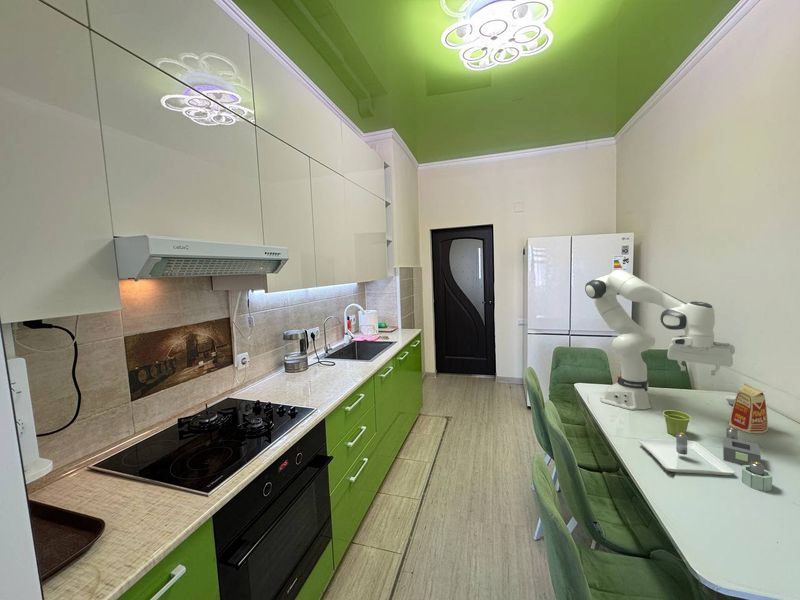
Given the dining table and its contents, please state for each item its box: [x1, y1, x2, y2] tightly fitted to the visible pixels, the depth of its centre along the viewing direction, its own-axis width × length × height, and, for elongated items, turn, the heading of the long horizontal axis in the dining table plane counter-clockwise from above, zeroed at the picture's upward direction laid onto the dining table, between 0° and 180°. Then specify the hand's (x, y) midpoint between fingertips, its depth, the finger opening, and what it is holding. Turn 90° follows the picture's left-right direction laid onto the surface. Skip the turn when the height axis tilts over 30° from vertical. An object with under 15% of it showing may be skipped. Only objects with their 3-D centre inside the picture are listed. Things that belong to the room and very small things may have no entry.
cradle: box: [722, 436, 762, 466], centre depth 120 cm, size 9×10×6 cm
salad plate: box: [637, 438, 736, 476], centre depth 123 cm, size 21×21×3 cm
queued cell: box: [725, 427, 739, 440], centre depth 129 cm, size 3×3×8 cm
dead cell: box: [750, 461, 765, 476], centre depth 107 cm, size 3×3×8 cm
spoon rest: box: [724, 395, 736, 406], centre depth 158 cm, size 24×12×7 cm, turn 140°
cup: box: [741, 465, 773, 492], centre depth 107 cm, size 7×7×5 cm
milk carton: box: [728, 382, 769, 434], centre depth 141 cm, size 9×9×20 cm
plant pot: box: [662, 409, 692, 437], centre depth 141 cm, size 9×9×9 cm
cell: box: [675, 432, 688, 456], centre depth 123 cm, size 3×3×8 cm
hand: (697, 372), depth 136 cm, fingers open, 8 cm apart
